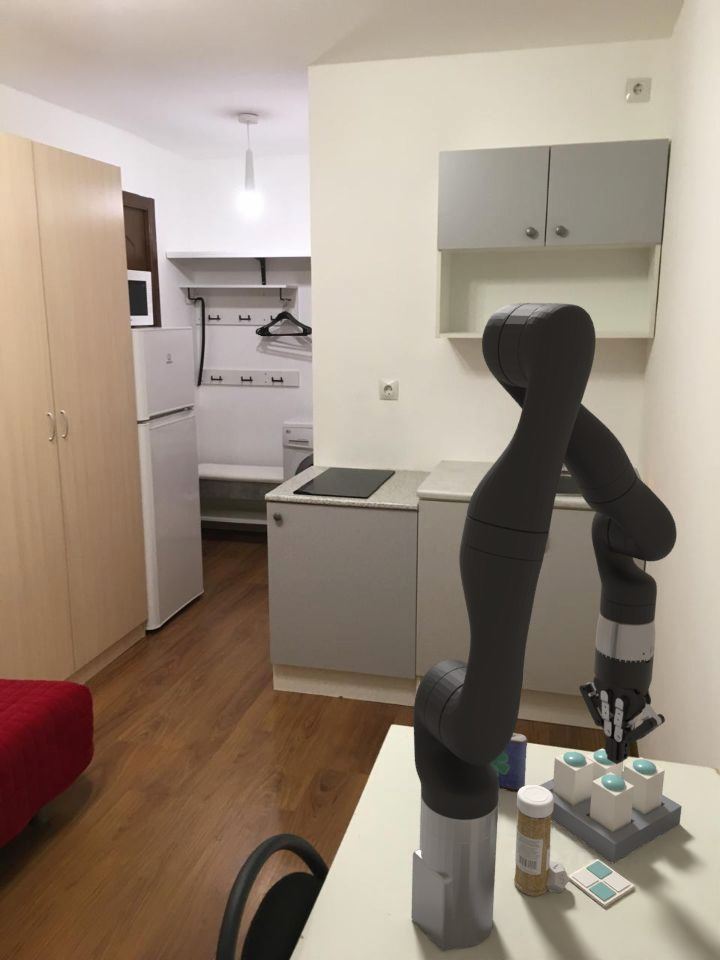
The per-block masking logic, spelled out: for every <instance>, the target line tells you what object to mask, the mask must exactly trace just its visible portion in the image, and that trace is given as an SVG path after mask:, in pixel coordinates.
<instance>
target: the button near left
mask: <svg viewBox="0 0 720 960" xmlns="http://www.w3.org/2000/svg"><path fill="white" fill-rule="evenodd" d="M585 756H586V755H583V754H582V753H580V752H578V751H576V750H575V749H572V750H569V751H566V752H565V753H562V754H560V755H558V756H556V757H554V765H553V767H554V768H553V778H552V779H553V793H554V794H556V795H557V796H558V797H560V798H561V799H563V800H564V801H566V802H567V803H569V804H570V805H572V806H573V807H574V806H576V805H578V804H580V803H582V802H584V801H586V800H588V799H590V798H591V792H592V781H593V770H594V762H593V761H591V760H590V759H588V758H586V757H585Z"/></svg>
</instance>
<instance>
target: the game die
mask: <svg viewBox="0 0 720 960" xmlns="http://www.w3.org/2000/svg"><path fill="white" fill-rule="evenodd" d="M568 876H569V875H568V873H567V871H566V868H565V867H564V865H563V863H562V862H559V861H553V860H550V865H549V873H548V879H547V883H546V886H547V888H548V889H547V891H549V892H554V893H561V892H562V891H563V890H564V889H565V888H566V886H567V884H568V883H569V882H570V880H569V877H568Z"/></svg>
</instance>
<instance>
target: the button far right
mask: <svg viewBox="0 0 720 960" xmlns="http://www.w3.org/2000/svg"><path fill="white" fill-rule="evenodd" d="M623 780H625V781H626V782H628V783H630V784H631V785H633V786H634V792H633V803H632V808H634V809H635V810H637V811H638V812H640V813H641V814H643V815H647V814H649V813H650V812H652V811H654V810H656V809H657V808H659V807H661V801H662V795H663V790H664V781H665V769H663V768H661V767H660V766H658V765H656V764H655V763H654V762H652V761H650V760H647V759H645V758H643V757H642V756H641V757H638V758H636V759H634V760H632V761H630V762H628V763H627V764H623Z"/></svg>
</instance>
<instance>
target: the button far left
mask: <svg viewBox="0 0 720 960" xmlns="http://www.w3.org/2000/svg"><path fill="white" fill-rule="evenodd" d="M584 756H585V757H586V758H588V759H590V760H591V761H593V762H594V770H593V781H594V780H596V779H598V778H600V777H602V776H604V775H606V774H608V773H610V772H611V773H613V774H615V775H616V776H619V777H621V778H622V771H624V761H623V762H621V763H619V764H615V763H613V762H612V761H610V760H608V759H607V754H606V752H605V748H600V749H598V750H595V751H593V752H591V753H589V754H587V755H584Z"/></svg>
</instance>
